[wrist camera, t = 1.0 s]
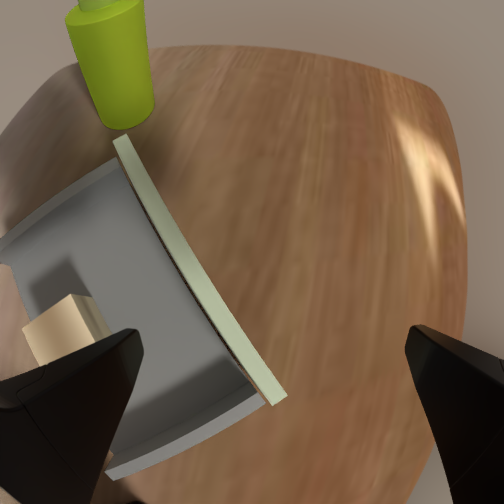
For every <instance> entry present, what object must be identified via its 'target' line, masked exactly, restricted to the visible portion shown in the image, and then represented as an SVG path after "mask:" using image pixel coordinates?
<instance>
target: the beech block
mask: <svg viewBox="0 0 504 504" xmlns="http://www.w3.org/2000/svg"><path fill="white" fill-rule="evenodd" d="M22 330H23V332H24V335H25V337H26V339H27V341H28V343H29V345H30V348H31V350H32V352H33V354H34V356H35V358H36V360H37V362H38V364H39V365H40V366H42V365H45V364H48V363H49V362H52V361H54V360H56V359H59V358H61V357H63V356H65V355H68V354H70V353H72V352H74V351H77V350H79V349H81V348H83V347H86V346H88V345H90V344H92V343H95V342H97V341H99V340H101V339H103V338H106V337H108V336H110V335H112V333H111V331H110V329H109V327H108V326H107V324H106V322H105V320H104V318H103V316H102V315H101V313H100V311H99V309H98V307H97V305H96V303H95V301H94V299H93V297H88V296H81V295H75V294H69V295H68V296H67V297H65V298H64V299H62V300H61V301H59V302H58V303H57V304H55V305H54V306H52V307H51V308H49V309H48V310H47V311H45V312H44V313H42V314H41V315H40V316H38V317H37V318H36V319H34V320H33V321H32V322H30V323H29V324H27V325H26V326H25V327H23V328H22Z"/></svg>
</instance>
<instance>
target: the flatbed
mask: <svg viewBox="0 0 504 504" xmlns="http://www.w3.org/2000/svg"><path fill="white" fill-rule="evenodd" d="M0 263H2V264H5V265H8V266H11V269H12V273H13V276H14V279H15V282H16V285H17V287H18V290H19V293H20V296H21V298H22V301H23V304H24V306H25V309H26V311H27V314H28V316H29V318H30V321H31V322H32V321H33V320H34V319H36V318H37V317H38V316H40V315H41V314H42V313H44V312H45V311H47V310H48V309H49V308H51V307H52V306H54V305H55V304H57V303H58V302H59V301H61V300H62V299H64V298H65V297H67V296H68V295H69V294H75V295H81V296H88V297H93V299H94V301H95V303H96V305H97V307H98V309H99V311H100V313H101V315H102V316H103V318H104V320H105V322H106V324H107V326H108V327H109V329H110V331H111V333H112V334H114V333H117V332H119V331H121V330H123V329H125V328H133V329H137V330H138V331H139V333H140V336H141V340H142V344H143V348H144V357H143V360H142V363H141V366H140V370H139V373H138V376H137V380H136V383H135V386H134V389H133V392H132V394H131V397H130V399H129V402H128V404H127V406H126V409H125V411H124V414H123V416H122V418H121V421H120V423H119V426H118V428H117V431H116V433H115V436H114V438H113V441H112V443H111V446H110V448H109V450H110V451H111V452H112V453H113V454H114V456H113V457H112V459H111V461H110V463H109V464H108V466H107V468H106V469H105V471H104V472H105V473H106V474H107V475H108V476H109V477H110V478H111V479H112V480H113V481H115V480H117V479H120V478H123V477H125V476H128V475H131V474H133V473H136V472H138V471H141V470H143V469H145V468H148V467H150V466H152V465H155V464H157V463H159V462H161V461H164V460H166V459H168V458H170V457H172V456H174V455H176V454H178V453H180V452H182V451H185V450H187V449H188V448H190V447H192V446H194V445H196V444H198V443H200V442H202V441H204V440H206V439H208V438H209V437H211V436H213V435H215V434H217V433H218V432H220V431H222V430H224V429H225V428H227V427H229V426H230V425H232V424H234V423H236V422H237V421H239V420H241V419H242V418H244V417H245V416H247V415H249V414H250V413H252V412H253V411H255V410H256V409H258V408H260V407H261V406H263V405H264V404H266V403H265V401H264V400H263V399H262V397H261V396H260V395H259V393H258V392H257V391H256V389H255V388H254V387H253V385H252V384H251V383H250V381H249V380H248V378H247V377H246V376H245V374H244V373H243V371H242V370H241V369H240V367H239V366H238V364H237V363H236V361H235V360H234V359H233V357H232V356H231V354H230V353H229V351H228V350H227V348H226V347H225V345H224V344H223V342H222V341H221V340H220V338H219V337H218V335H217V334H216V332H215V330H214V329H213V327H212V326H211V324H210V323H209V321H208V320H207V318H206V317H205V315H204V314H203V312H202V310H201V309H200V307H199V306H198V304H197V303H196V301H195V299H194V298H193V296H192V295H191V293H190V291H189V290H188V288H187V286H186V285H185V283H184V281H183V280H182V278H181V276H180V275H179V273H178V271H177V270H176V268H175V266H174V265H173V263H172V261H171V260H170V258H169V256H168V254H167V253H166V251H165V249H164V247H163V246H162V244H161V242H160V240H159V239H158V237H157V235H156V233H155V231H154V230H153V228H152V226H151V224H150V222H149V220H148V219H147V217H146V215H145V213H144V211H143V209H142V207H141V205H140V203H139V202H138V200H137V198H136V196H135V194H134V192H133V190H132V188H131V186H130V184H129V182H128V180H127V178H126V176H125V174H124V172H123V170H122V168H121V166H120V164H119V162H118V159H117V157H115V158H113V159H111V160H109V161H108V162H106V163H104V164H103V165H101V166H99V167H97V168H96V169H94V170H93V171H91V172H89V173H88V174H86V175H85V176H83V177H81V178H80V179H78V180H77V181H75V182H74V183H72V184H71V185H69V186H68V187H66V188H65V189H63V190H62V191H60V192H59V193H58V194H56V195H55V196H53V197H52V198H51V199H49V200H48V201H46V202H45V203H44V204H42V205H41V206H40V207H38V208H37V209H36V210H34V211H33V212H32V213H31V214H29V215H28V216H27V217H25V218H24V219H23V220H22V221H20V222H19V223H18V224H17V225H16V226H14V227H13V228H12V229H11V230H10V231H8V232H7V233H6V234H5V235H4V236H3V237H2V238H0Z"/></svg>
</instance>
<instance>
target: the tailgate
mask: <svg viewBox="0 0 504 504" xmlns="http://www.w3.org/2000/svg"><path fill="white" fill-rule="evenodd" d="M113 143H114V146H115V148H116V150H117V152H118V155H119V157H120V159H121V161H122V163H123V166H124V168H125V170H126V172H127V174H128V176H129V178H130V180H131V183H132V185H133V187H134V189H135V191H136V193H137V194H138V196H139V198H140V200H141V202H142V204H143V206H144V208H145V210H146V211H147V213H148V215H149V217H150V219H151V221H152V223H153V224H154V226H155V228H156V230H157V232H158V233H159V235H160V237H161V239H162V240H163V242H164V244H165V246H166V248H167V249H168V251H169V253H170V254H171V256H172V258H173V260H174V261H175V263H176V265H177V266H178V268H179V270H180V271H181V273H182V275H183V276H184V278H185V280H186V281H187V283H188V285H189V286H190V288H191V290H192V291H193V293H194V294H195V296H196V298H197V299H198V301H199V302H200V304H201V306H202V307H203V309H204V310H205V312H206V313H207V315H208V316H209V318H210V320H211V321H212V323H213V324H214V326H215V327H216V329H217V330H218V332H219V333H220V335H221V336H222V338H223V339H224V341H225V342H226V344H227V345H228V347H229V348H230V350H231V351H232V353H233V354H234V355H235V357H236V358H237V360H238V361H239V363H240V364H241V366H242V367H243V368H244V370H245V371H246V373H247V374H248V375H249V377H250V378H251V379H252V381H253V382H254V383H255V385H256V386H257V387H258V388H259V390H260V391H261V392H262V393H263V395H264V396H265V397H266V398H267V400H268V401H269V402H270V403H271V405H272V406H273V405H274V404H276V403H277V402H279V401H280V400H282V399H283V398H285V397H286V396H287V394H286V392H285V391H284V390H283V388H282V387H281V385H280V384H279V383H278V381H277V380H276V378H275V377H274V376H273V374H272V373H271V371H270V370H269V368H268V367H267V366H266V364H265V363H264V361H263V360H262V358H261V357H260V355H259V354H258V353H257V351H256V350H255V348H254V347H253V345H252V344H251V342H250V341H249V339H248V338H247V336H246V335H245V333H244V332H243V330H242V329H241V327H240V326H239V324H238V323H237V321H236V320H235V318H234V317H233V315H232V314H231V312H230V311H229V309H228V307H227V306H226V304H225V303H224V301H223V300H222V298H221V297H220V295H219V293H218V292H217V290H216V289H215V287H214V285H213V284H212V282H211V281H210V279H209V277H208V276H207V274H206V273H205V271H204V269H203V268H202V266H201V265H200V263H199V261H198V260H197V258H196V256H195V255H194V253H193V251H192V250H191V248H190V246H189V245H188V243H187V241H186V240H185V238H184V236H183V235H182V233H181V231H180V230H179V228H178V226H177V224H176V223H175V221H174V219H173V218H172V216H171V214H170V212H169V211H168V209H167V207H166V205H165V204H164V202H163V200H162V198H161V197H160V195H159V193H158V191H157V189H156V188H155V186H154V184H153V182H152V180H151V179H150V177H149V175H148V173H147V171H146V169H145V168H144V166H143V164H142V162H141V160H140V158H139V156H138V155H137V153H136V151H135V149H134V147H133V145H132V143H131V141H130V139H129V137H128V135H127V134H125V135H123V136H121V137H119V138H117V139H115V140H113Z"/></svg>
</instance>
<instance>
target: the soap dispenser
mask: <svg viewBox="0 0 504 504" xmlns="http://www.w3.org/2000/svg"><path fill="white" fill-rule="evenodd" d="M78 2H79V4H78V5H77V6H75V7H74V8H73V9H72V10H71V11H70V12H69V13H68V14H67V16H66V18H65V22H66V26H67V29H68V33H69V36H70V39H71V42H72V45H73V48H74V51H75V54H76V57H77V60H78V63H79V65H80V68H81V71H82V74H83V76H84V79H85V82H86V84H87V87H88V89H89V92H90V95H91V97H92V100H93V102H94V104H95V107H96V109H97V112H98V114H99V117H100V119H101V121H102V123H103V124H104V125H105V126H106V127H108V128H110V129H114V130H124V129H129V128H132V127H134V126H136V125H138V124H140V123H142V122H143V121H144V120H145V119H147V118H148V116H149V115H150V114H151V112H152V111H153V108H154V104H155V101H154V94H153V87H152V80H151V72H150V64H149V55H148V46H147V36H146V26H145V13H144V0H78Z"/></svg>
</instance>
